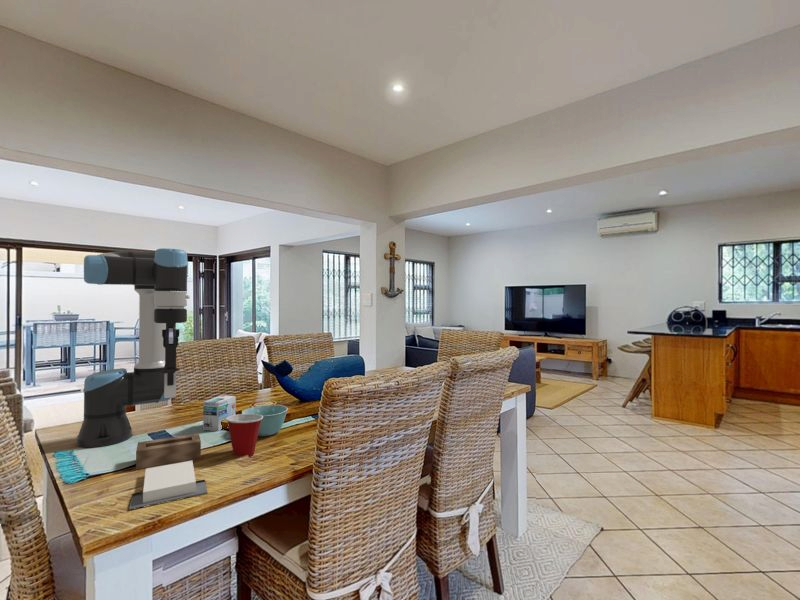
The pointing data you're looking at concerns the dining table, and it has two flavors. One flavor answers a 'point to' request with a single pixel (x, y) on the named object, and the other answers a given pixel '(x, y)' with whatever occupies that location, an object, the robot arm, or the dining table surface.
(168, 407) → the dining table surface
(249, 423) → the plastic cup
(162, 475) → the rectangular insert block
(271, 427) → the bowl
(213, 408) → the light bulb box
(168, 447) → the slot box
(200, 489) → the rubber mat
